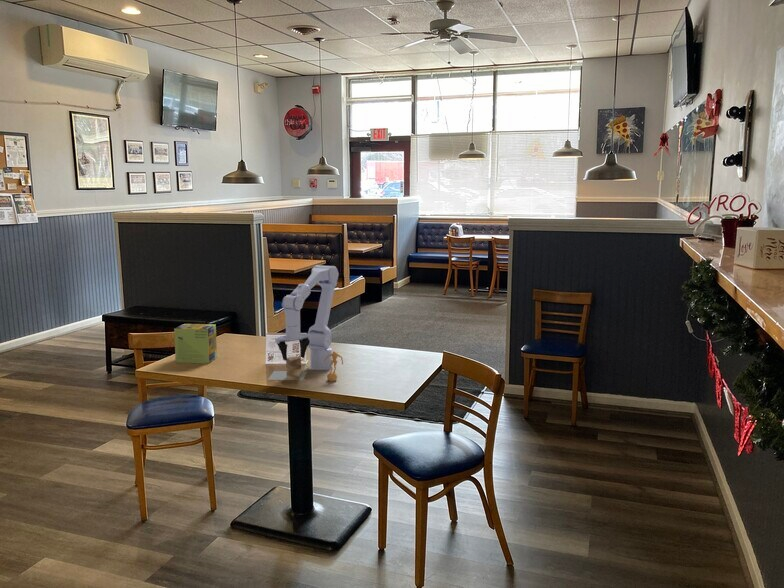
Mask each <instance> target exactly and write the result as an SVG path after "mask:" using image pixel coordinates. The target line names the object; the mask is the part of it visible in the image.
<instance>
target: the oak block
mask: <svg viewBox="0 0 784 588" xmlns="http://www.w3.org/2000/svg"><path fill="white" fill-rule="evenodd" d="M286 371H287V380H286V381H300V380H299V379H300V377H301V371H302V368H301V369H295V370H290V369H288V368H286Z"/></svg>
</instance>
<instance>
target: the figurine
mask: <svg viewBox="0 0 784 588" xmlns="http://www.w3.org/2000/svg"><path fill="white" fill-rule="evenodd" d="M329 356H332V359H333V361H332V360H331V363H330V367H331V370H330V371H329V372H328V373H327V374H326V375H327V376H326V379H327V380H328V381H329V382H336V380H337V379H338V375H337V373H336V371H337V369H336V368H337V363H338V360H337V359H338V358H341V359H340V360H341V363H340V364H341V365H342V366H343V365H344V360H343V357H342V355H340V354H339V353H338V352H337V351H333V350H332V354H330V355H328V356H327V358H328V357H329ZM327 358H326V359H325V360H327ZM324 363H325V361H324ZM333 368H334V369H333Z"/></svg>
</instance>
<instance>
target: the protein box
mask: <svg viewBox="0 0 784 588" xmlns="http://www.w3.org/2000/svg"><path fill="white" fill-rule="evenodd" d="M173 330H174V331H173V335H174V352H175V356H174V357H175V363H177V364H178V363H179V364H205V365H206V364H211V362H213V361H215V360H216V359H217V358H218V347H217V345H218V344H217V326H216V323H215V324H213V323H209V324H205V323H184V324H180V325H178V326H177V327H175V328H173Z"/></svg>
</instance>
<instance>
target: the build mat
mask: <svg viewBox="0 0 784 588" xmlns="http://www.w3.org/2000/svg"><path fill="white" fill-rule="evenodd" d="M307 373H308V371H307V370H306V371H304V370H301V377H300V379H299V380H298V381H304V379H305V377H306V375H307ZM267 381H288V380H287V370H273V372H272V373H271V374H270V375H269V377H268V378H267Z"/></svg>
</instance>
